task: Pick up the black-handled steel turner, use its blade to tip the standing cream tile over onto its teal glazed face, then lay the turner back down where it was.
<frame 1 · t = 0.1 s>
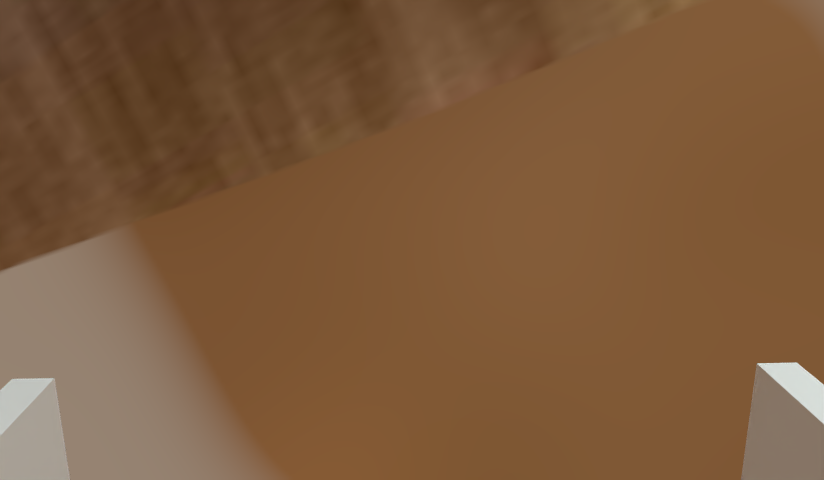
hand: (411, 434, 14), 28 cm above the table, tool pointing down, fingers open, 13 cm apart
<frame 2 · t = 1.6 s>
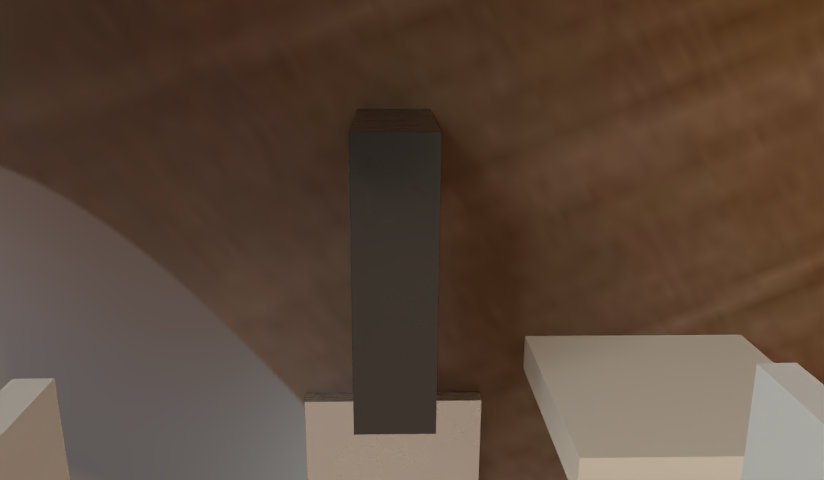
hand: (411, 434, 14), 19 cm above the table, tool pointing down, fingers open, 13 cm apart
tile: (631, 351, 34), on the table
turner: (393, 332, 34), on the table
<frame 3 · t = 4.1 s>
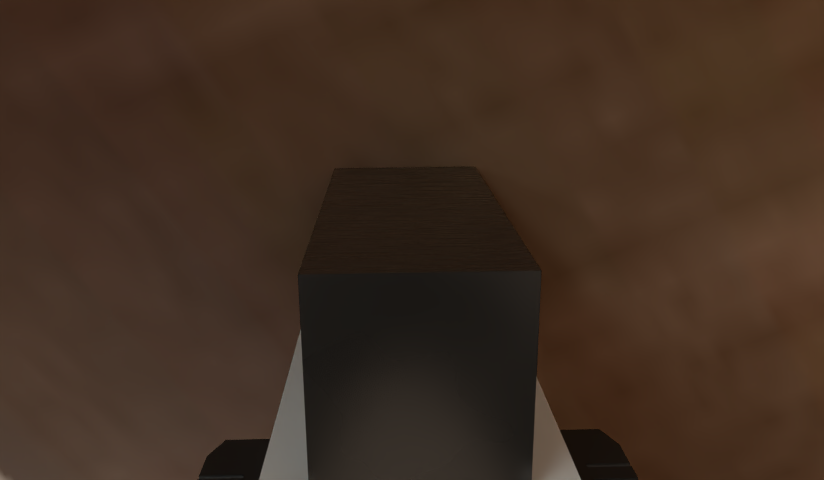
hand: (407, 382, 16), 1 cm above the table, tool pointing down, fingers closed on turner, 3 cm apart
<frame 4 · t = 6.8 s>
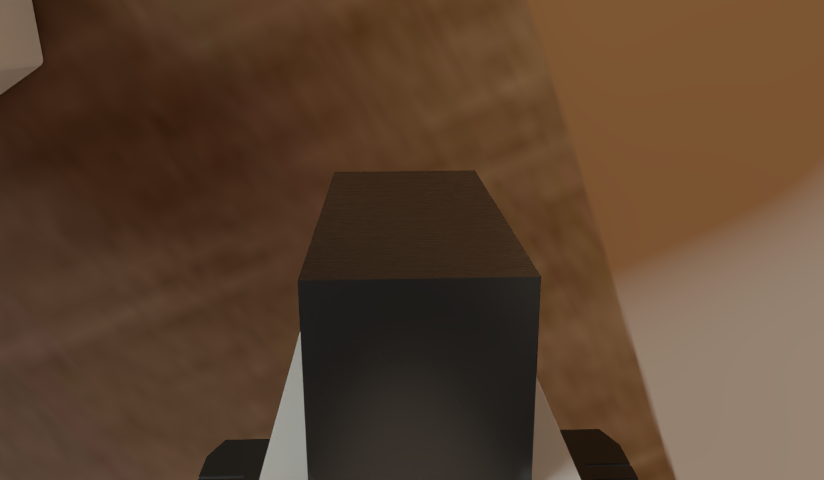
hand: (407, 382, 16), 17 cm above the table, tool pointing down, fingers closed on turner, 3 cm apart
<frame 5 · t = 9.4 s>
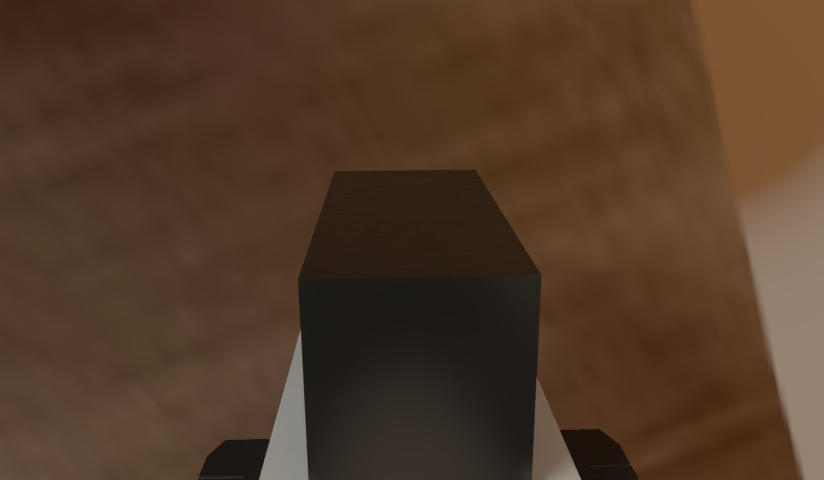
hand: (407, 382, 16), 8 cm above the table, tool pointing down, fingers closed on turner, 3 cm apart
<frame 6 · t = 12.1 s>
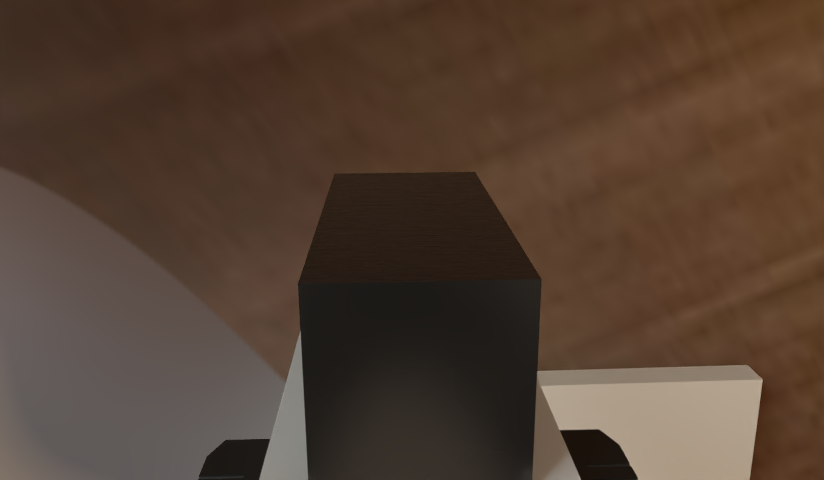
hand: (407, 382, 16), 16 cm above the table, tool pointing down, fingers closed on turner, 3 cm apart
tile: (643, 374, 33), point 1 cm above the table, tilted 90°
when the fingers open (3 cm above the table, at t = 14.6 s): turner drops 2 cm, on the table.
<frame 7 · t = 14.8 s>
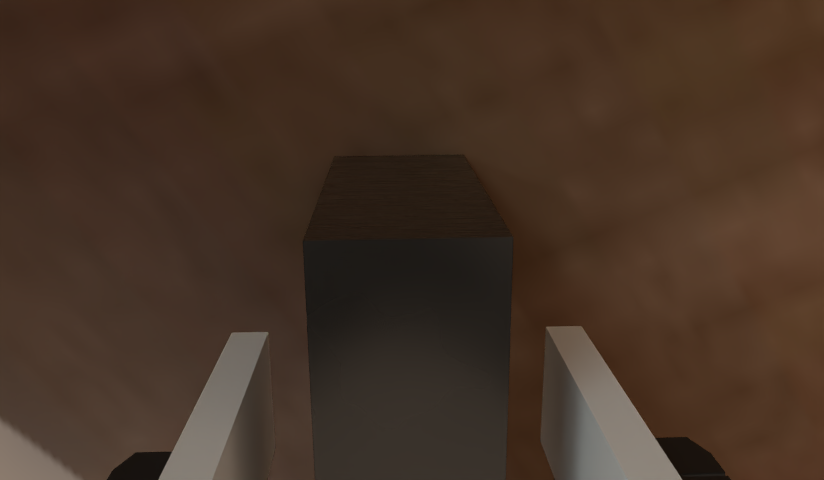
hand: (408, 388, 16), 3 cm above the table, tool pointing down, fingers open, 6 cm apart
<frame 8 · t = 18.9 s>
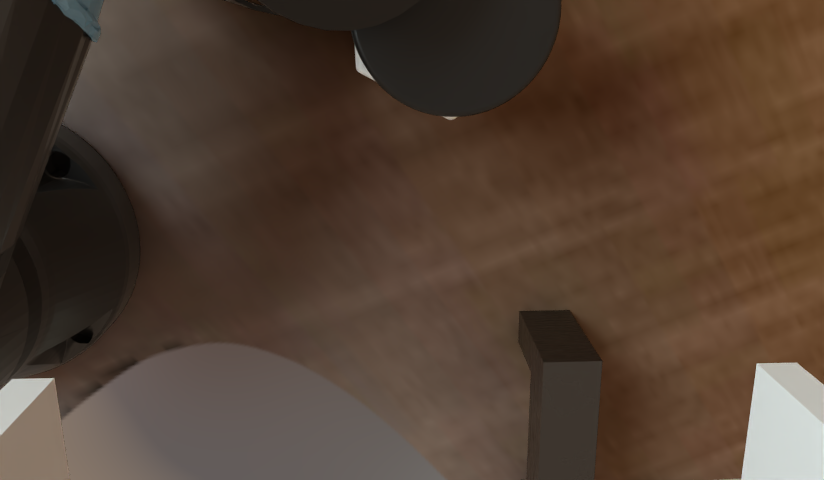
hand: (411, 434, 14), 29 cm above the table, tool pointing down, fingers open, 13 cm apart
jar: (429, 14, 40), on the table, touching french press
turner: (537, 457, 47), on the table
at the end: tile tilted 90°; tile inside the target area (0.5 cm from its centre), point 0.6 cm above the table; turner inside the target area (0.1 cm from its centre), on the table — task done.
